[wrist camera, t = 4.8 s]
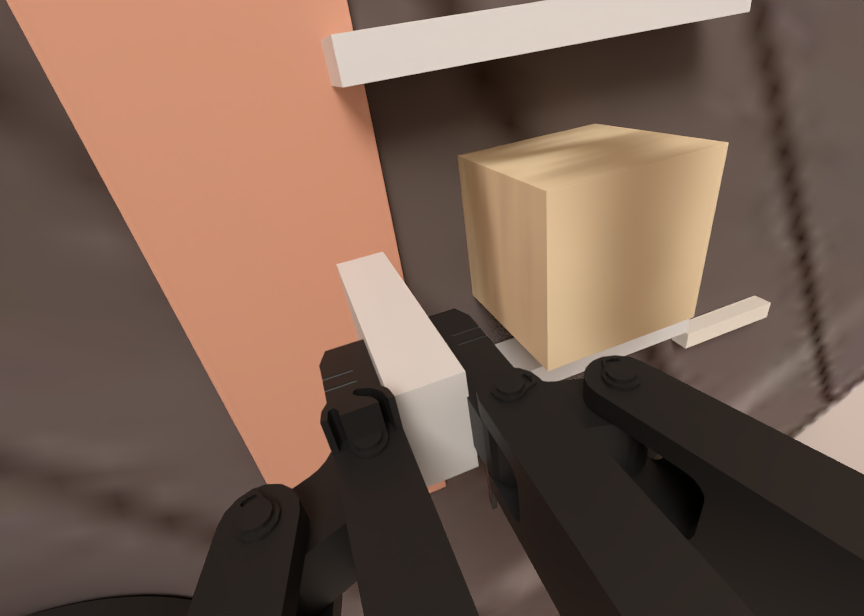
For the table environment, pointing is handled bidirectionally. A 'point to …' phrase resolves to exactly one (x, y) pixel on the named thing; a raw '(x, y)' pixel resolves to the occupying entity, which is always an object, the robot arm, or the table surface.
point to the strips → (723, 321)
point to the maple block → (589, 234)
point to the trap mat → (232, 186)
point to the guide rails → (502, 37)
